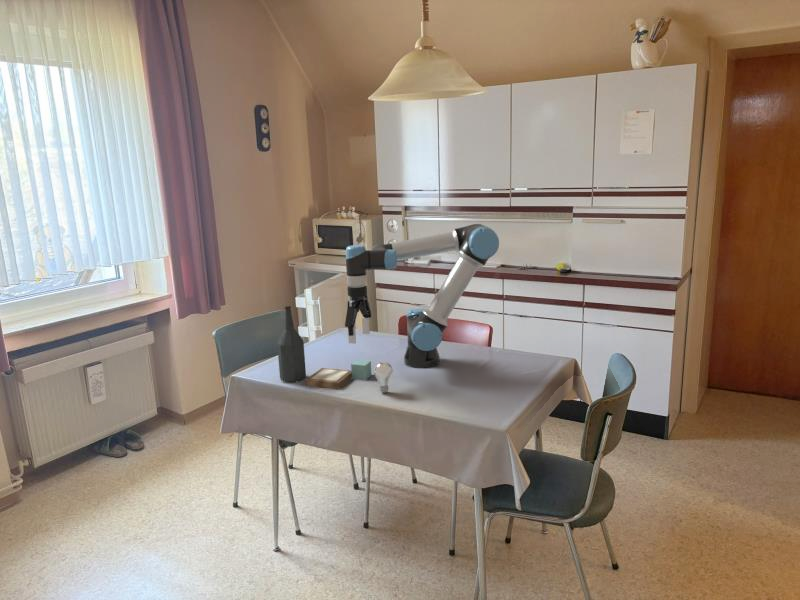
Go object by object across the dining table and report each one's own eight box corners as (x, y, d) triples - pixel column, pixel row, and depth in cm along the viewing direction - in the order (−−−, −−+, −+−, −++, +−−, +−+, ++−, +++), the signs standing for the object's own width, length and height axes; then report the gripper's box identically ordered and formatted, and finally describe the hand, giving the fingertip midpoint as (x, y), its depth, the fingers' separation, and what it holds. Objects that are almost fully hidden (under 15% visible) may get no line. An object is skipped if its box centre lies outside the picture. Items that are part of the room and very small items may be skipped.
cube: (371, 374, 246) (370, 360, 245) (365, 380, 240) (365, 365, 239) (357, 373, 248) (357, 359, 247) (351, 378, 242) (351, 364, 241)
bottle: (297, 384, 238) (291, 309, 231) (275, 381, 242) (269, 308, 235) (310, 375, 248) (305, 303, 241) (289, 373, 251) (283, 302, 244)
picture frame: (353, 376, 244) (353, 370, 244) (338, 389, 231) (338, 382, 231) (322, 373, 249) (322, 367, 248) (306, 385, 236) (305, 379, 235)
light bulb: (378, 397, 222) (377, 366, 219) (371, 391, 228) (370, 360, 225) (396, 394, 224) (395, 363, 222) (389, 388, 231) (387, 357, 228)
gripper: (360, 279, 248) (363, 329, 253) (334, 291, 226) (337, 346, 230) (378, 279, 246) (379, 330, 251) (352, 292, 223) (355, 348, 228)
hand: (359, 338), depth 241 cm, fingers open, 13 cm apart
